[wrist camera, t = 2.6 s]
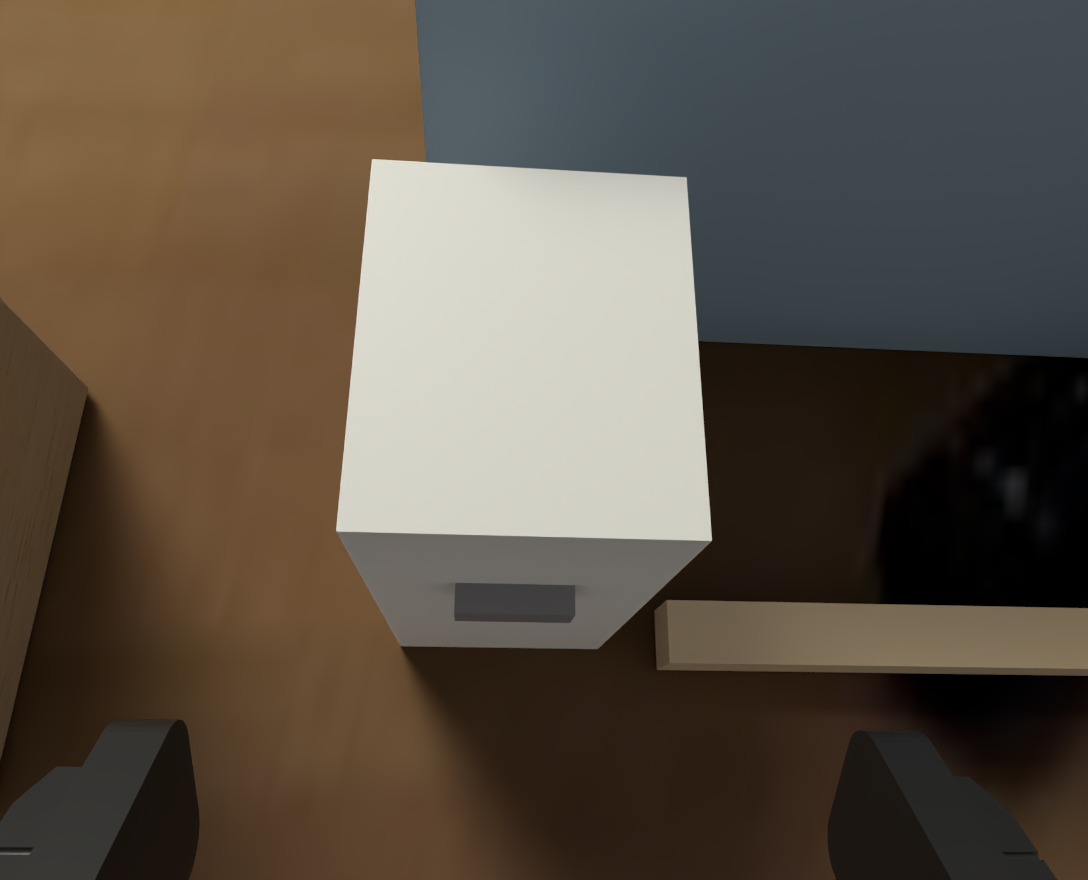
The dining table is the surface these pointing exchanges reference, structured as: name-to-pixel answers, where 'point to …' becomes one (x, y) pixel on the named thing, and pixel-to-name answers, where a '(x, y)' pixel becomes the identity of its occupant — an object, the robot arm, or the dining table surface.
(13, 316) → the decorative block
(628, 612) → the cabinet
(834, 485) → the dining table surface
